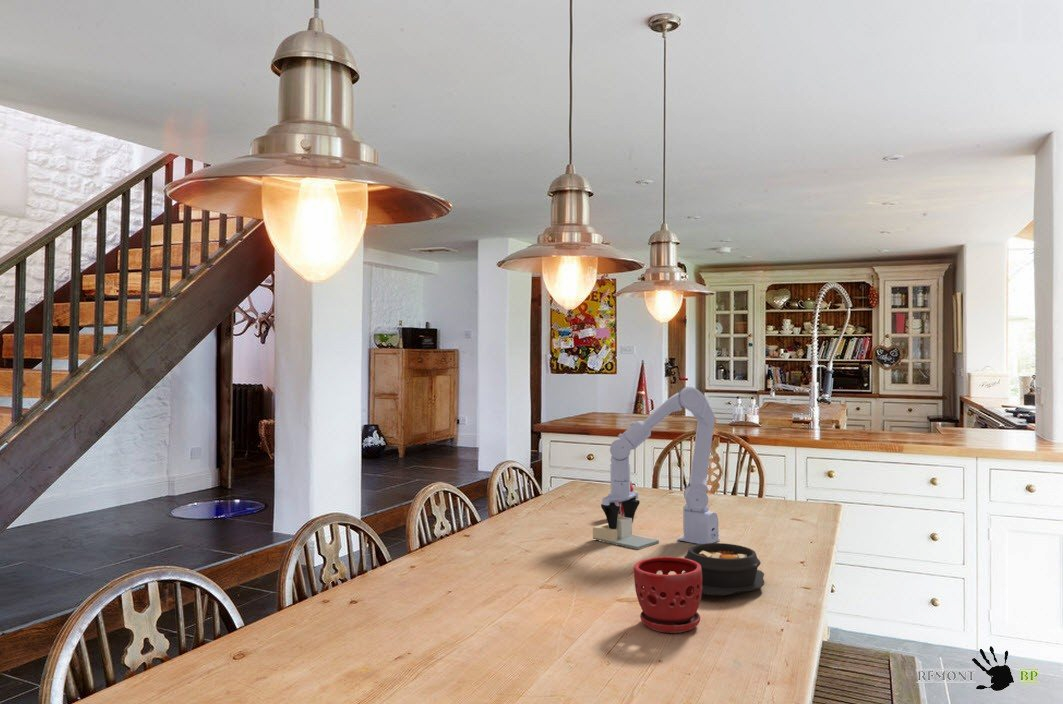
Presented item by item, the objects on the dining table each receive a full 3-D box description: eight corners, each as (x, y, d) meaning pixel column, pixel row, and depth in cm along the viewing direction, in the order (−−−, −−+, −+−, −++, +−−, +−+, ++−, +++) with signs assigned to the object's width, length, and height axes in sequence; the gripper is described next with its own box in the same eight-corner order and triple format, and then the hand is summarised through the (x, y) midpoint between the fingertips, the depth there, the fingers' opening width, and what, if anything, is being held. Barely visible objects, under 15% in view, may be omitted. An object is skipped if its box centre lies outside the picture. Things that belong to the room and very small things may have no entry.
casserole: (736, 610, 153) (736, 569, 153) (658, 592, 165) (658, 555, 165) (783, 582, 172) (782, 546, 172) (710, 568, 184) (709, 534, 184)
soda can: (635, 520, 240) (635, 483, 240) (613, 520, 240) (613, 483, 240) (632, 515, 247) (632, 479, 247) (611, 515, 247) (611, 479, 247)
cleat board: (658, 543, 209) (658, 529, 209) (637, 549, 202) (637, 535, 202) (614, 534, 221) (614, 521, 221) (593, 540, 213) (592, 526, 213)
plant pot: (655, 609, 153) (655, 552, 154) (714, 623, 145) (713, 562, 145) (621, 627, 143) (621, 565, 143) (682, 643, 135) (682, 577, 135)
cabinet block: (632, 535, 215) (631, 516, 216) (621, 538, 212) (621, 518, 212) (618, 532, 219) (618, 513, 219) (608, 535, 215) (607, 516, 216)
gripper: (624, 475, 223) (625, 520, 223) (593, 481, 213) (594, 528, 213) (643, 478, 219) (644, 524, 218) (613, 484, 208) (613, 532, 208)
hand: (620, 526), depth 215 cm, fingers open, 7 cm apart
